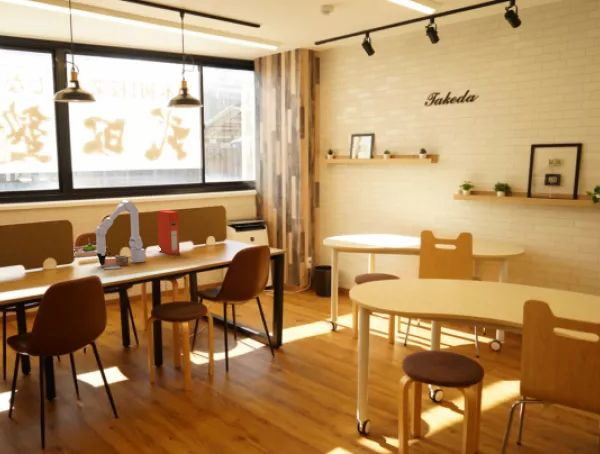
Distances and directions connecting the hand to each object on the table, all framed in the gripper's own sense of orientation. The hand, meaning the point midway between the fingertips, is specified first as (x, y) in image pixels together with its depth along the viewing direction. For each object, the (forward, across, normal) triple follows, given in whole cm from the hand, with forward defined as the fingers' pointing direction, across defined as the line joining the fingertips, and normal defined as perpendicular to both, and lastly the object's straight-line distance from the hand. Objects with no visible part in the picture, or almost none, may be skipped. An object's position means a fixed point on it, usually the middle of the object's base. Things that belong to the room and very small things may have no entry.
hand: (102, 264), depth 365 cm
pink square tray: (+1, -53, -1) cm, 53 cm away
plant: (+2, -53, -1) cm, 53 cm away
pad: (+1, +8, +5) cm, 10 cm away
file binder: (+2, -28, +53) cm, 60 cm away
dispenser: (+1, 0, +12) cm, 13 cm away
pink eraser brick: (+1, 0, +4) cm, 5 cm away
